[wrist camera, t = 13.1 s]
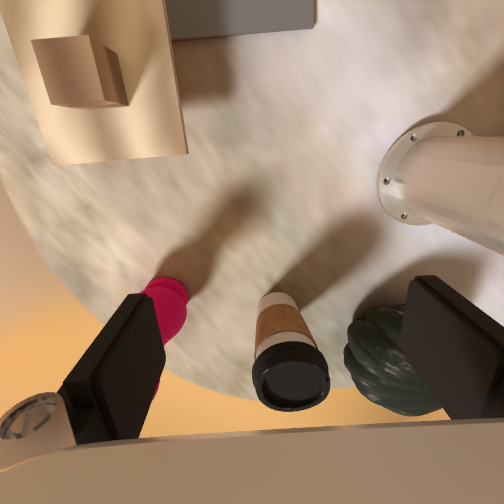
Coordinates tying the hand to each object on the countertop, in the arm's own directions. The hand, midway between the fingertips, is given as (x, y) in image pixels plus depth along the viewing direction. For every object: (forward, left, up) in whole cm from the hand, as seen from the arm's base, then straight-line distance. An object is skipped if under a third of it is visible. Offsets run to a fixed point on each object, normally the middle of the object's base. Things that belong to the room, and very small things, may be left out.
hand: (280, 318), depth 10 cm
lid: (+13, -12, -22) cm, 28 cm away
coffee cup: (-2, +18, -28) cm, 34 cm away
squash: (-18, +24, -28) cm, 42 cm away
